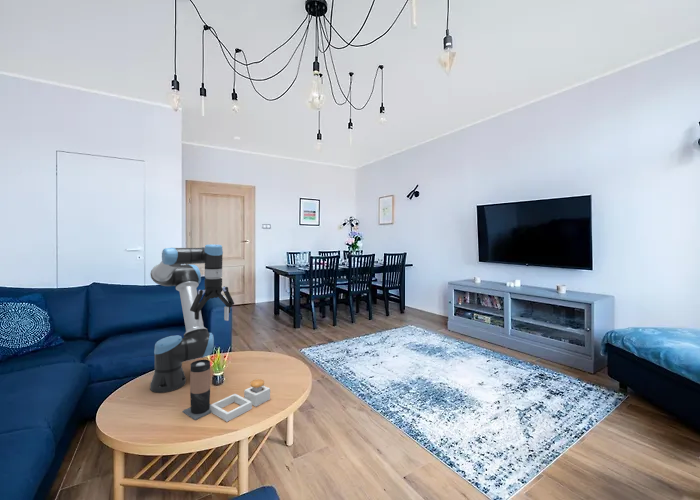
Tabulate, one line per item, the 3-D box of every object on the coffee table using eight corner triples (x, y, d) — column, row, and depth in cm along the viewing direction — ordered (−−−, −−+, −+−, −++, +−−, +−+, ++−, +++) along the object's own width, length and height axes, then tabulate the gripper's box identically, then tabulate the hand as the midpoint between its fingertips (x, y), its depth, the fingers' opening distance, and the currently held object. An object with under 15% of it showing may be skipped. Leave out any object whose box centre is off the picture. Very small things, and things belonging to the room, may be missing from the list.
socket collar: (210, 411, 131) (210, 404, 131) (234, 400, 141) (234, 393, 141) (227, 421, 125) (227, 414, 124) (251, 408, 134) (251, 401, 134)
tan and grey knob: (247, 399, 141) (247, 382, 141) (258, 393, 146) (258, 378, 145) (256, 403, 137) (256, 386, 137) (266, 397, 142) (267, 381, 142)
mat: (182, 412, 131) (182, 410, 131) (205, 402, 139) (205, 400, 139) (195, 420, 125) (195, 419, 125) (218, 409, 133) (218, 408, 133)
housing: (244, 401, 141) (244, 390, 140) (258, 393, 147) (258, 383, 147) (255, 406, 136) (255, 395, 136) (269, 399, 143) (270, 388, 142)
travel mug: (214, 405, 135) (214, 360, 134) (202, 415, 127) (202, 367, 127) (198, 403, 136) (198, 358, 136) (185, 413, 129) (186, 365, 128)
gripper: (190, 281, 132) (190, 330, 133) (241, 276, 152) (241, 319, 153) (181, 279, 136) (181, 327, 137) (233, 274, 156) (232, 316, 157)
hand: (213, 323), depth 145 cm, fingers open, 13 cm apart
